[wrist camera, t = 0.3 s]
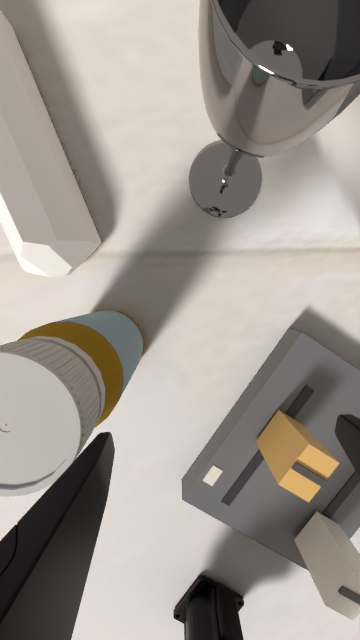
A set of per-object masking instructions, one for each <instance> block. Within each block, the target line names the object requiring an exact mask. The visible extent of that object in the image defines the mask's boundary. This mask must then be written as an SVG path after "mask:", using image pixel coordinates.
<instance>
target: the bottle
mask: <svg viewBox="0 0 360 640" xmlns="http://www.w3.org/2000/svg"><path fill="white" fill-rule="evenodd" d="M143 349H144V342H143V335H142V333H141V331H140V328H139V327H138V325H137V324H136V323H135V322H134V321H133V320H132V319H131V318H130V317H128V316H127V315H125V314H123V313H121V312H117V311H112V310H109V311H98V312H94V313H90V314H86V315H82V316H78V317H73V318H69V319H65V320H61V321H57V322H53V323H49V324H46V325H43V326H40V327H38V328H35V329H33V330H30V331H29V332H27V333H26V334H25V335H23V336H22V337H21V338H20V339H19V340H18V341H15V342H11V343H7V344H4V345H1V346H0V496H20V495H26V494H30V493H33V492H36V491H39V490H41V489H43V488H45V487H47V486H49V485H50V484H52V483H53V482H55V481H56V480H57V479H58V478H59V477H60V476H61V475H62V474H63V472H64V471H65V470H66V469H67V468H68V467H69V466H70V465H71V464H72V463H73V462H74V461H75V459H76V458H77V456H78V455H79V453H80V451H81V450H82V448H83V446H84V445H85V443H86V441H87V440H88V438H89V436H90V435H91V433H92V431H93V429H94V428H95V427H96V426H98V425H99V424H100V423H101V422H103V421H104V420H105V419H106V418H107V417H108V416H109V415H110V413H111V412H112V410H113V409H114V407H115V406H116V404H117V402H118V401H119V399H120V397H121V395H122V393H123V391H124V390H125V388H126V386H127V384H128V382H129V380H130V378H131V376H132V374H133V373H134V371H135V369H136V367H137V365H138V363H139V361H140V359H141V356H142V353H143Z"/></svg>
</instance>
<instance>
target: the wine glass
mask: <svg viewBox="0 0 360 640" xmlns="http://www.w3.org/2000/svg"><path fill="white" fill-rule="evenodd" d="M198 40H199V64H200V77H201V85H202V93H203V99H204V103H205V107H206V111H207V114H208V117H209V120H210V122H211V124H212V127H213V128H214V130H215V132H216V133H217V135H218V136H219V137H220V138H221V139H222V140H219V141H216V142H213V143H211V144H209V145H207V146H206V147H205V148H203V149H202V150H201V151H200V152H199V153H198V154H197V156H196V158H195V159H194V161H193V163H192V166H191V169H190V175H189V184H190V189H191V193H192V195H193V198H194V200H195V201H196V203H197V204H198V205H199V206H200V207H201V208H202V209H203V210H204V211H205V212H207V213H209V214H211V215H213V216H216V217H222V218H227V217H233V216H237V215H239V214H241V213H243V212H244V211H246V210H247V209H248V208H249V207H250V206H251V205H252V204H253V203H254V201H255V200H256V198H257V196H258V194H259V191H260V188H261V181H262V177H261V169H260V165H259V163H258V160H257V158H256V157H259V158H262V157H271V156H275V155H278V154H281V153H283V152H286V151H288V150H290V149H292V148H294V147H296V146H298V145H299V144H301V143H302V142H304V141H305V140H307V139H308V138H310V137H311V136H312V135H314V134H315V133H316V132H318V131H319V130H320V129H322V128H323V127H324V126H325V125H326V124H328V123H329V122H330V121H331V120H333V119H334V118H335V117H336V116H337V115H339V114H340V113H341V112H342V111H343V110H344V109H345V108H346V107H347V106H348V105H349V104H350V103H351V102H352V101H353V100H354V99H355V98H356V97H357V96H358V95H359V94H360V0H200V7H199V29H198Z"/></svg>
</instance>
